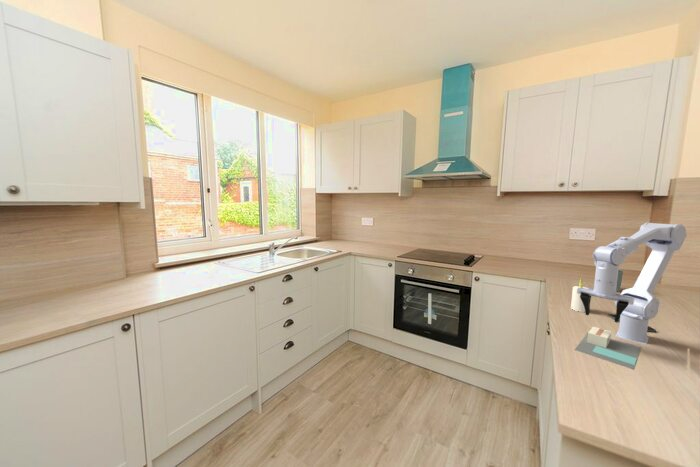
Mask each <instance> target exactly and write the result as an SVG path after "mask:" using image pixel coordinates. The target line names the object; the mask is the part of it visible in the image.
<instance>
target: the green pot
mask: <svg viewBox="0 0 700 467" xmlns="http://www.w3.org/2000/svg"><path fill="white" fill-rule="evenodd" d="M623 276H624V270H622V269H619V270H618V279H617V287H616V291H619V292H620V291H621V287H622V286H621V285H622V281H623Z"/></svg>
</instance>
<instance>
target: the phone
mask: <svg viewBox="0 0 700 467" xmlns="http://www.w3.org/2000/svg"><path fill="white" fill-rule="evenodd" d="M615 316H616V314H611V313H607V317H608V318H610V319H612V320H613V321H615ZM618 323H620V317H619V320H618ZM647 333H657V330H656V329H655V328H653V327H651V326H649V325H648V329H647Z"/></svg>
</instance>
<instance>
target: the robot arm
mask: <svg viewBox="0 0 700 467" xmlns="http://www.w3.org/2000/svg"><path fill="white" fill-rule="evenodd" d="M687 234H688V233H687V229H686V227H685V226H684V224H682V223H676V224H675V223H674V224H673V223H672V224H671V223H658V222H657V223H655V222H648V221H647V222H645V223H643V224H642V225H640V228H639V230H638V231H637V232H635V233H633V234H632V235H631V236H620V237H619V239H617V240H615V241H613V242H611V243H609V244H607V245H606V246H605V245H602V246H601V245H600V246H598V247H596V248H595V249H594V251H593V253H592V259H593V261H594V263H593V264H594V266H595V274H594V282H593V283H594V284H593V288H589V289H586V288H587V287H586V288H577V293H578V294H581V295H580V298H581V300H582V302H583V305H584V308H585V312H584V314H585V316H589V315H590V312H591V311H590V309H591V308H590V307H591V299H592V297H597V298H601V299H605V300H606V299H607V300H609V301H614V306H615V308H616V312H615V315H616V316H615V320H614V323H616V324H617V323H619V322H618V320H619V317H620V323H619V324H618V330H617V332H616V334H615V337H617V338H620V339H624V340H627V341H631V342H634V343H637V344H638V343H639V344H642V345H645V346H647V344H648V341H649V336H648V335H647V334H648V332H647V329H648V326H649V320H652V319H654V318H655V317H656V316H657V315H658V312H659V306H660V304H661V302H660V300H659V299H658V298H657V296H656V295H654V294H653V293H654V292H655V290H656V288H657V286H658V284H659V283H660V280H661V279H662V276H663V275H664V273H665V270H666V269H667V267H668V265H669V264H670V262H671V259H672V257H673V255H674V253H675V252H676V251H679V250H680V249H681V247H682V246H683V243H684V242H685V240H686V238H687ZM642 244H645V245H646V246H647V247H648V248H650V249H651V252H650V254H649V256H648V257H647V260H646V262H645V263H644V266H643V268H642V269H641V272H640V274H639V275H638V276H637V279H636V281H635V283H634V285H633V287H631V288H626V289H622V291H621V293H620V294H619V293H617V292H616V287H617V279H618V270H620V265H622V264H623V263H624V261H625V259H627V258H628V256H629V255H631V254H633V253H634V252H636V251H638V250H639V247H640V246H641V245H642Z"/></svg>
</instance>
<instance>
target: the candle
mask: <svg viewBox="0 0 700 467" xmlns="http://www.w3.org/2000/svg"><path fill="white" fill-rule="evenodd" d="M577 288H586V289H590V288H589V287H585V286H584V283H583V279H582V278H580V279H579V284H578V286H577V285H575V286H572V290H571V291H572V293H571V302H570V303H571V304H570V309H571V310H572V309H573V311H574V310H575V312H578V311H579V312H578V313H585V308H584V305H583V302H582V300H581V298H580V295H581V294H578V293H577Z"/></svg>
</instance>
